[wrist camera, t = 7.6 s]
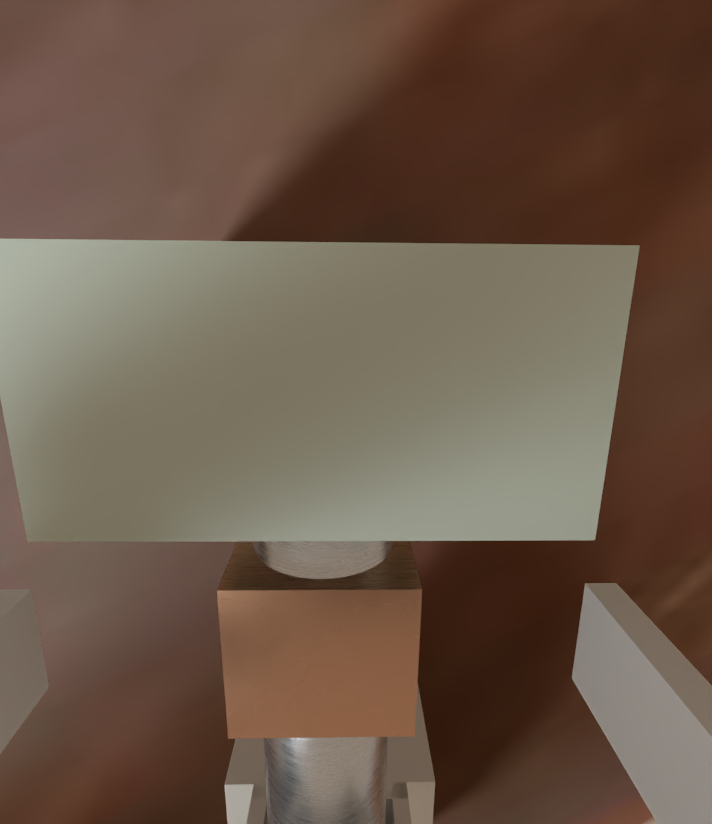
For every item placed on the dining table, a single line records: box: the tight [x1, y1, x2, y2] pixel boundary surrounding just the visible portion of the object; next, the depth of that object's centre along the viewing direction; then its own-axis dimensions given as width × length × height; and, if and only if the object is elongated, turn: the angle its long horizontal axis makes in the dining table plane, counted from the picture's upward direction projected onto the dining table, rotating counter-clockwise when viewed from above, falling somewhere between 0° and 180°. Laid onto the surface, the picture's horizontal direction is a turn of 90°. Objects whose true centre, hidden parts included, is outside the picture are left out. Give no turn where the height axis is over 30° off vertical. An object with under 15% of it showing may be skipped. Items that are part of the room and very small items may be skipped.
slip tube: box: [217, 541, 422, 824], centre depth 14 cm, size 19×4×4 cm, turn 0°
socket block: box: [0, 239, 640, 542], centre depth 14 cm, size 5×10×13 cm, turn 89°
